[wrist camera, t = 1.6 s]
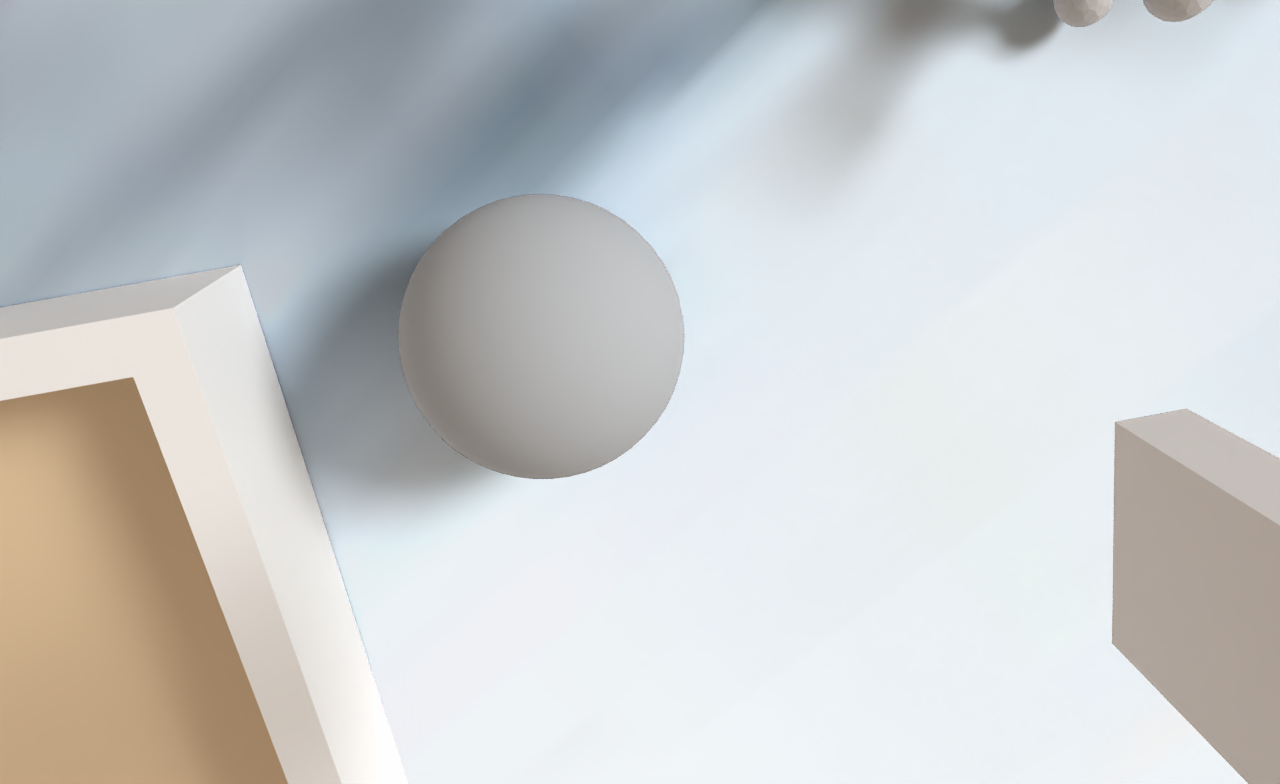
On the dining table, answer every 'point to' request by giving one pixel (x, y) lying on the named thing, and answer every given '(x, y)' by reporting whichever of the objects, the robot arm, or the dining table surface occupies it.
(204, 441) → the square serving dish
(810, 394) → the dining table surface
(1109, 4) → the molecular model
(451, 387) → the ball
